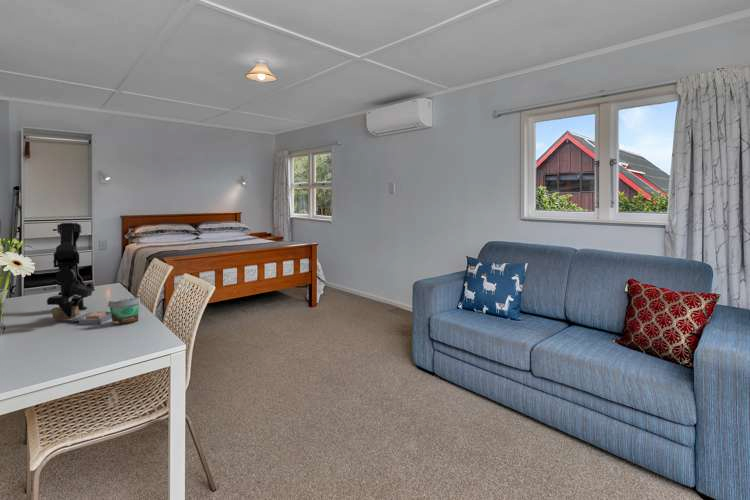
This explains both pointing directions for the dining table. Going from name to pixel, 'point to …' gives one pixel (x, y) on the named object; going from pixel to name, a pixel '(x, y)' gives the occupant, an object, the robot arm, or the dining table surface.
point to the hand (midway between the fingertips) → (71, 316)
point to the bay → (96, 320)
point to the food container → (124, 311)
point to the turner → (60, 315)
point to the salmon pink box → (96, 315)
